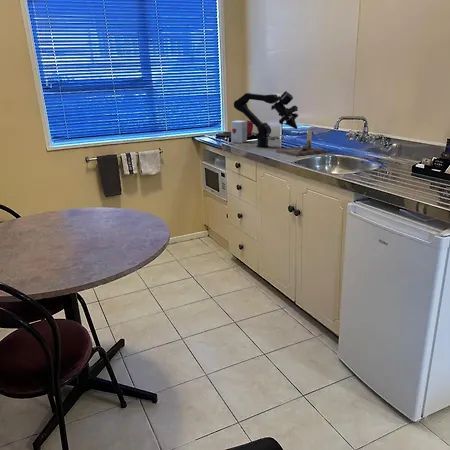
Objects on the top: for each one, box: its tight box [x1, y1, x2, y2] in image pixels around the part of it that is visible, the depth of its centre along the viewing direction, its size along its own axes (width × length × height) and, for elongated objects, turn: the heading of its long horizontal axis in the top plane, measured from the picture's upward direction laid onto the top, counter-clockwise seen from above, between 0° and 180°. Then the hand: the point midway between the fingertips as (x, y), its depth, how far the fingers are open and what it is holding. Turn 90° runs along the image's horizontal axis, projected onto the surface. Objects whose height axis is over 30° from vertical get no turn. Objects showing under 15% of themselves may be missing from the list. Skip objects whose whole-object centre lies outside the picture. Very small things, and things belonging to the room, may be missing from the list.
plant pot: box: [244, 119, 254, 138], centre depth 336 cm, size 13×13×12 cm
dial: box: [297, 129, 313, 152], centre depth 264 cm, size 19×4×11 cm, turn 148°
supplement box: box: [230, 120, 248, 144], centre depth 309 cm, size 9×9×15 cm
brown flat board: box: [276, 146, 325, 157], centre depth 267 cm, size 24×18×2 cm
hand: (296, 128), depth 272 cm, fingers closed
